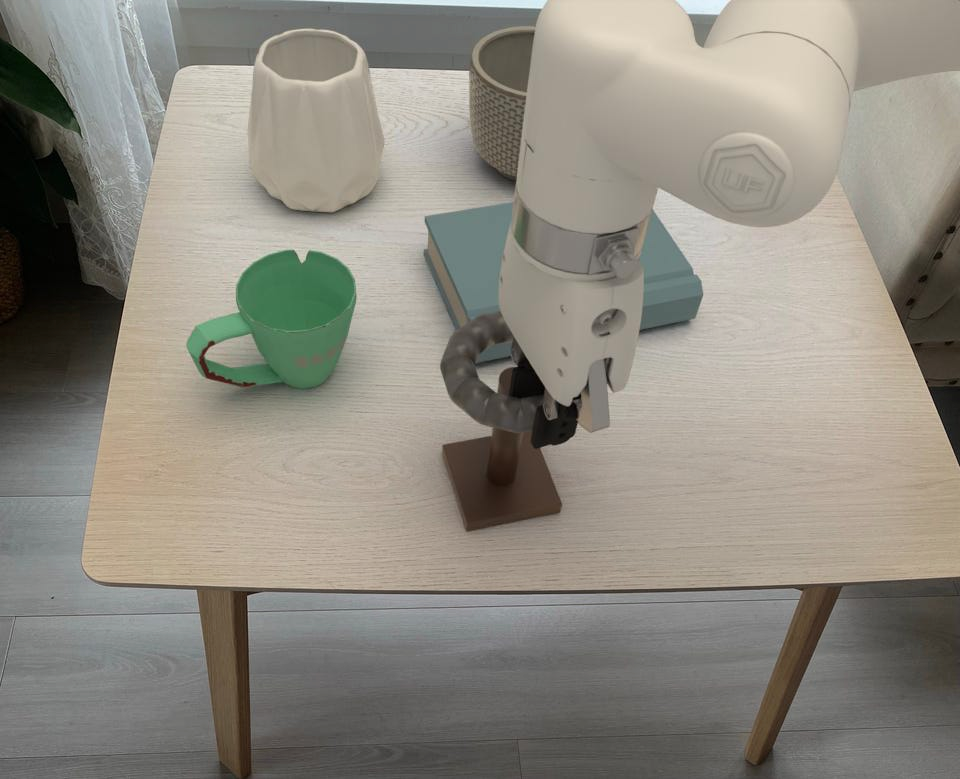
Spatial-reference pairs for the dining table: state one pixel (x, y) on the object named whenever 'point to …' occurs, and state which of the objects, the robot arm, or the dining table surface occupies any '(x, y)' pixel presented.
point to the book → (478, 258)
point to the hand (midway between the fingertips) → (540, 419)
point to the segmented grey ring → (471, 389)
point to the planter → (500, 95)
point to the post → (500, 476)
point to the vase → (314, 121)
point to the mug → (284, 321)
